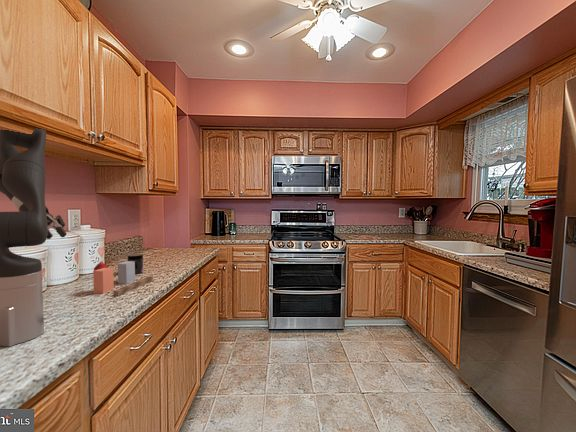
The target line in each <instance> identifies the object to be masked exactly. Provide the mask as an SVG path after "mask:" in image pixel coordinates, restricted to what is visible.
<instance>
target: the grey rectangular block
mask: <svg viewBox="0 0 576 432" xmlns="http://www.w3.org/2000/svg"><path fill="white" fill-rule="evenodd" d="M134 282H136V275H135V262H133V261H127V260H126V261H122V262H119V263H117V284H119V285H120V284H121V285H122V284H123V285H129V284H131V283H134Z"/></svg>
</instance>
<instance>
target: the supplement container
mask: <svg viewBox="0 0 576 432" xmlns="http://www.w3.org/2000/svg"><path fill="white" fill-rule="evenodd" d="M126 259H127V260H126V261H133V262H135V276H137V275H141V274H143V273H144V253H130V254H127V255H126Z"/></svg>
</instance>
